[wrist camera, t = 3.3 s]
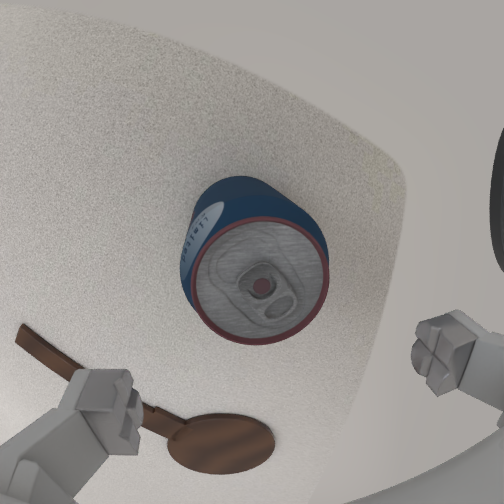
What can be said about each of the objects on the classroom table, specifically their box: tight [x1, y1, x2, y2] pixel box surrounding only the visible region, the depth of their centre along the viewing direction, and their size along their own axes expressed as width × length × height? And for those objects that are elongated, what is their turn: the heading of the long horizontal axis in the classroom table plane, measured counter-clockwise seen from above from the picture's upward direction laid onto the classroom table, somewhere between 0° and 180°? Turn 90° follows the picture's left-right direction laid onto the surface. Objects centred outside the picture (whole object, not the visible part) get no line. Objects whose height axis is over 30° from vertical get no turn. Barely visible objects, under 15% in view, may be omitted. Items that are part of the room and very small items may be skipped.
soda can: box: [180, 176, 329, 345], centre depth 18 cm, size 7×7×12 cm
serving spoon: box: [15, 324, 275, 475], centre depth 29 cm, size 33×13×1 cm, turn 50°
